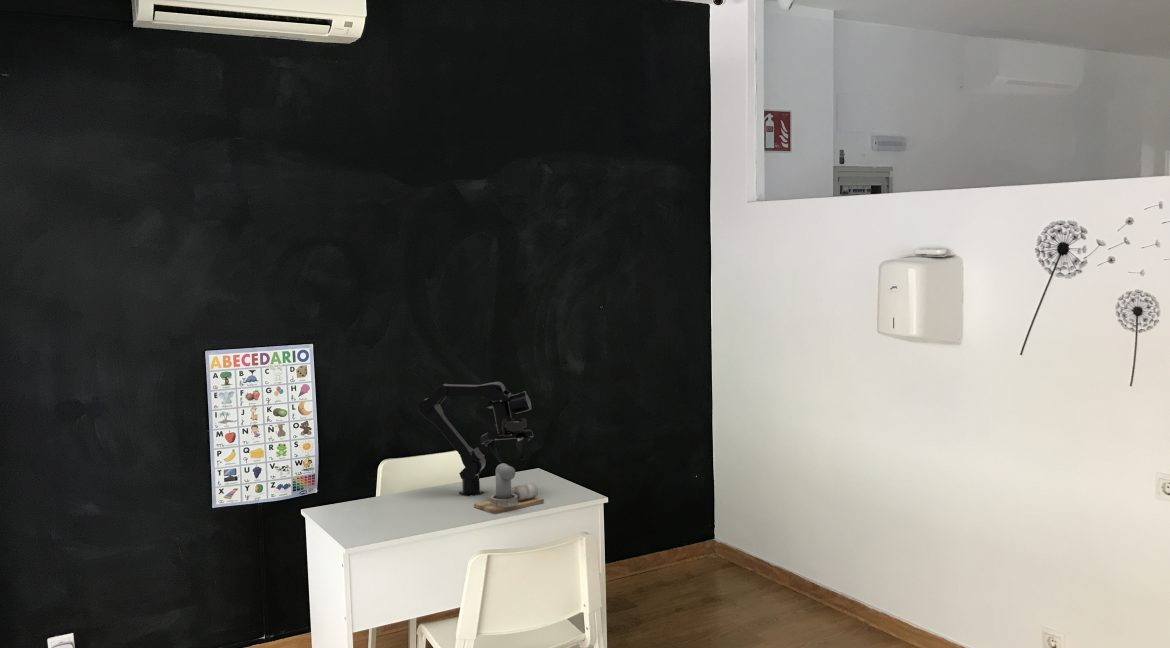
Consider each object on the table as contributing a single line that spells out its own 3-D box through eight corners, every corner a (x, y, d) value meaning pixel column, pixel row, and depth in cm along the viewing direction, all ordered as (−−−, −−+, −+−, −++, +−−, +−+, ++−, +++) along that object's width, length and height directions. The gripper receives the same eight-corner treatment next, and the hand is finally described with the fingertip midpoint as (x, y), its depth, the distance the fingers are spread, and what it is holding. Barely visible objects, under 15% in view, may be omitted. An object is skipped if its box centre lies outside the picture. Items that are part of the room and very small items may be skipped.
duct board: (474, 507, 300) (473, 488, 300) (523, 496, 313) (522, 479, 312) (494, 514, 291) (493, 495, 291) (543, 502, 304) (543, 484, 303)
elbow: (493, 503, 300) (492, 463, 299) (507, 501, 302) (506, 461, 302) (503, 507, 294) (502, 466, 293) (517, 505, 296) (516, 464, 296)
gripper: (492, 411, 304) (501, 456, 300) (537, 409, 316) (546, 452, 311) (475, 421, 312) (484, 465, 308) (520, 418, 324) (529, 461, 319)
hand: (511, 460), depth 311 cm, fingers open, 9 cm apart
